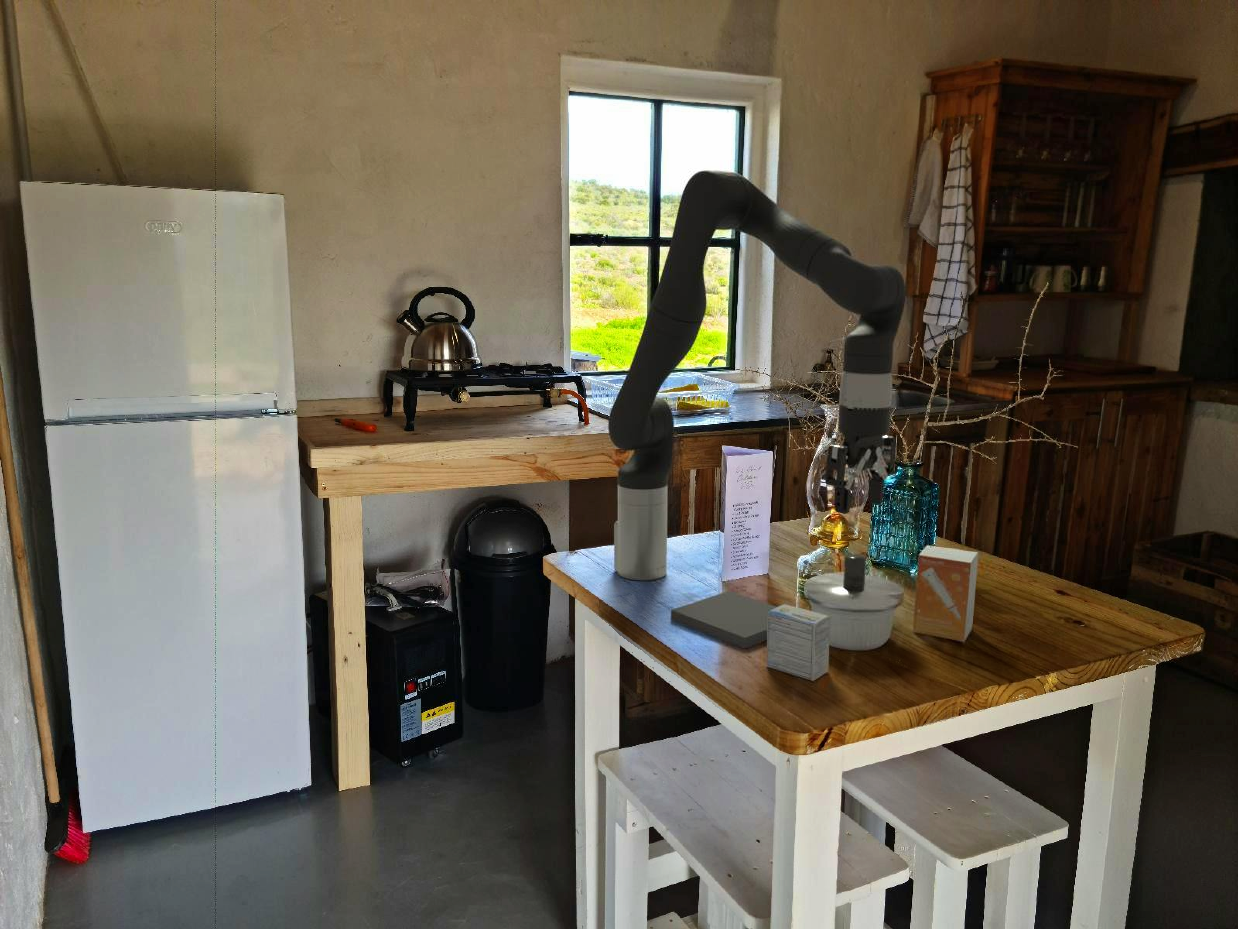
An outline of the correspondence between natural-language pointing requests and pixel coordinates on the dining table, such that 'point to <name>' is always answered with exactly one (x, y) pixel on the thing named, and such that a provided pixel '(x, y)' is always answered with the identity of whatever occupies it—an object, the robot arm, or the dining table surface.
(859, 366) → the robot arm
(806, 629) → the medicine box
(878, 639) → the ramekin
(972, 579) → the small box
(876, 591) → the lid
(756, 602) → the mat
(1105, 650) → the dining table surface
